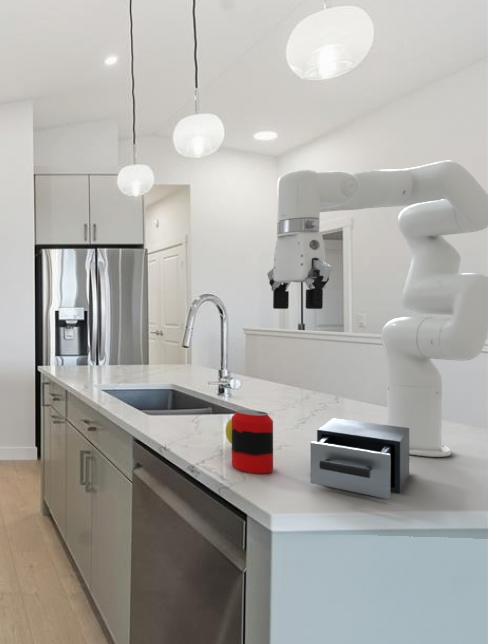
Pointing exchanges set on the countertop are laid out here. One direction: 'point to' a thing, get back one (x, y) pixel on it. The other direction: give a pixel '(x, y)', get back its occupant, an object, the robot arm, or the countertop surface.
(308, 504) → the countertop surface
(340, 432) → the cabinet
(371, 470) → the drawer
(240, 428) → the soda can
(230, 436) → the lemon
